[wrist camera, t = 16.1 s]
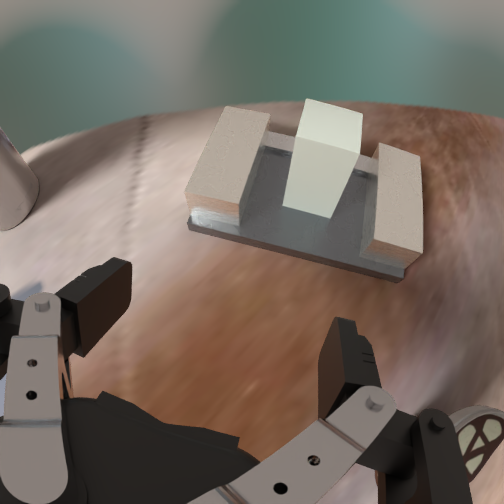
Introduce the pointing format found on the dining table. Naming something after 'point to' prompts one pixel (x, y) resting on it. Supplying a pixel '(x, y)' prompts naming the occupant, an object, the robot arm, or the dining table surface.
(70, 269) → the dining table surface
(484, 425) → the food container
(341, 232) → the rail plate
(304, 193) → the block
